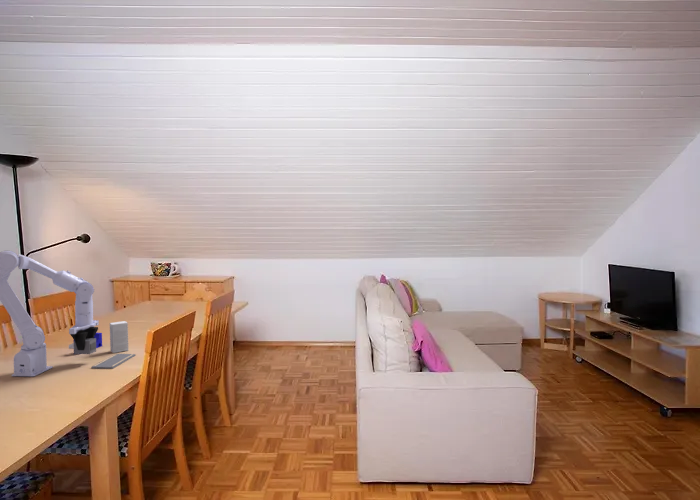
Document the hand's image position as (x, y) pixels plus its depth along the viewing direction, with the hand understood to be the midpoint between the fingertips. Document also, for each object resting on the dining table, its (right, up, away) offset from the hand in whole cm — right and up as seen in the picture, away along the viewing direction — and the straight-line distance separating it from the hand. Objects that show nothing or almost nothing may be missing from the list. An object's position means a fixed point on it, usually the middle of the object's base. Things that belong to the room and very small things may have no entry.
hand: (84, 348), depth 161 cm
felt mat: (+10, -6, +2) cm, 12 cm away
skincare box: (+4, -5, +16) cm, 18 cm away
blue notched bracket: (-10, -5, +17) cm, 21 cm away
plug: (-1, -2, 0) cm, 2 cm away
